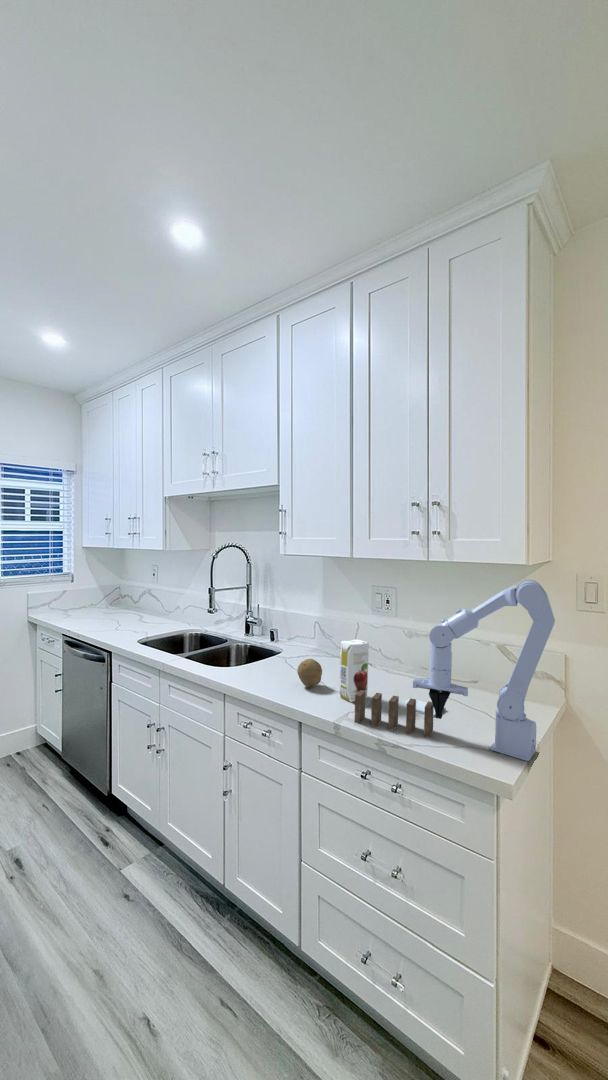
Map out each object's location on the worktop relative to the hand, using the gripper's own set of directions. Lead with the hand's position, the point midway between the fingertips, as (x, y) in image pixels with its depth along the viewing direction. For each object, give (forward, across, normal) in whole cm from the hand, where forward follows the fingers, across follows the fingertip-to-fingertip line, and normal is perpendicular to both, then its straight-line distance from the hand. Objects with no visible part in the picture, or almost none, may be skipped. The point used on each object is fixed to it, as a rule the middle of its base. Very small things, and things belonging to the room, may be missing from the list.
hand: (439, 717), depth 129 cm
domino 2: (+5, +18, 0) cm, 18 cm away
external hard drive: (+6, +8, -18) cm, 21 cm away
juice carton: (+5, +30, -17) cm, 35 cm away
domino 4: (+5, +8, 0) cm, 9 cm away
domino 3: (+5, +13, 0) cm, 14 cm away
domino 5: (+5, +3, 0) cm, 6 cm away
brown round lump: (+5, +48, -20) cm, 52 cm away
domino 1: (+5, +23, 0) cm, 23 cm away
